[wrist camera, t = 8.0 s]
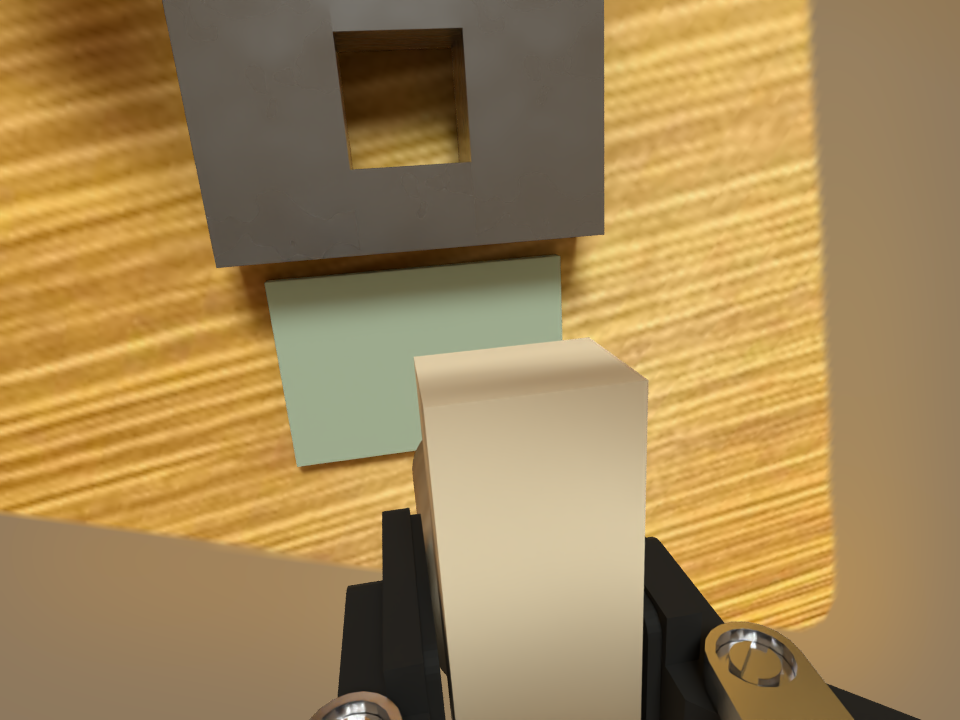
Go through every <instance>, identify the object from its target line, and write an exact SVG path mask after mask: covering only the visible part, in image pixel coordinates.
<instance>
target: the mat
mask: <svg viewBox="0 0 960 720" xmlns="http://www.w3.org/2000/svg"><path fill="white" fill-rule="evenodd" d="M264 284H265V289H266V295H267V300H268V306H269V312H270V317H271V323H272V328H273V334H274V340H275V345H276V351H277V356H278V362H279V368H280V373H281V379H282V384H283V390H284V395H285V401H286V407H287V412H288V418H289V423H290V429H291V435H292V440H293V446H294V451H295V457H296V462H297V467H299V466H306V465H314V464H321V463H328V462H336V461H343V460H350V459H358V458H365V457H372V456H380V455H387V454H394V453H401V452H409V451H416V450H417V448H418V446H419V444H420V442H421V441H422V433H421V423H420V414H419V404H418V395H417V385H416V376H415V366H414V357H416V356H425V355H435V354H444V353H453V352H462V351H471V350H480V349H489V348H498V347H507V346H516V345H525V344H534V343H543V342H552V341H561V340H562V309H561V268H560V256H559V255H545V256H534V257H523V258H512V259H501V260H490V261H479V262H468V263H457V264H445V265H434V266H423V267H412V268H401V269H390V270H379V271H368V272H357V273H346V274H335V275H324V276H313V277H302V278H291V279H279V280H268V281H266V282H265V283H264Z"/></svg>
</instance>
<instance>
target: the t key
mask: <svg viewBox="0 0 960 720" xmlns="http://www.w3.org/2000/svg"><path fill="white" fill-rule="evenodd" d="M414 366H415V376H416V385H417V395H418V404H419V414H420V423H421V433H422V441H421V442H420V444H419V446H418V448H417V450H416V452H415V455H414V459H413V466H412V471H413V482H414V491H415V500H416V509H417V514H421V519H422V527H423V535H424V543H425V551H426V559H427V567H428V576H429V584H430V592H431V600H432V608H433V616H434V624H435V632H436V640H437V648H438V657H439V665H440V668H441V669H442V671H443V672H444V673H445V674H446V675H447V679H448V688H449V698H450V708H451V717H452V720H641V690H642V645H643V599H644V553H645V508H646V462H647V416H648V380H647V379H646V378H644V377H643V376H642V375H640V374H639V373H638V372H636V371H635V370H633V369H632V368H631V367H629V366H628V365H626V364H625V363H624V362H622V361H621V360H620V359H618V358H617V357H615V356H614V355H613V354H611V353H610V352H608V351H607V350H606V349H604V348H603V347H602V346H600V345H599V344H597V343H596V342H595V341H593V340H592V339H590V338H589V337H588V338H579V339H570V340H561V341H552V342H543V343H534V344H525V345H516V346H507V347H498V348H489V349H480V350H471V351H462V352H453V353H444V354H435V355H425V356H416V357H414Z"/></svg>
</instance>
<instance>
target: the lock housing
mask: <svg viewBox="0 0 960 720" xmlns="http://www.w3.org/2000/svg"><path fill="white" fill-rule="evenodd" d="M162 2H163V6H164V11H165V16H166V21H167V26H168V31H169V36H170V41H171V46H172V51H173V56H174V61H175V66H176V71H177V76H178V81H179V86H180V90H181V95H182V100H183V105H184V110H185V115H186V120H187V125H188V130H189V135H190V140H191V145H192V150H193V155H194V160H195V165H196V169H197V174H198V179H199V184H200V189H201V194H202V199H203V204H204V209H205V214H206V219H207V224H208V229H209V234H210V239H211V244H212V248H213V253H214V258H215V263H216V268H221V267H233V266H244V265H256V264H268V263H279V262H291V261H302V260H314V259H326V258H337V257H349V256H360V255H372V254H384V253H395V252H407V251H418V250H430V249H442V248H453V247H465V246H476V245H488V244H500V243H511V242H523V241H534V240H546V239H558V238H569V237H581V236H592V235H604V0H162ZM441 48H451V54H452V67H453V81H454V95H455V109H456V123H457V136H458V150H459V163H448V164H432V165H417V166H401V167H386V168H370V169H355V170H353V167H352V159H351V151H350V143H349V135H348V127H347V119H346V111H345V103H344V95H343V87H342V79H341V71H340V63H339V55H338V52H356V51H385V50H413V49H441Z"/></svg>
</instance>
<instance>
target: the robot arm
mask: <svg viewBox="0 0 960 720" xmlns="http://www.w3.org/2000/svg"><path fill="white" fill-rule="evenodd" d="M382 559H383V580H382V581H377V582H370V583H363V584H357V585H351V586H348V588H347V593H346V604H345V615H344V627H343V639H342V651H341V664H340V675H339V687H338V688H339V689H338V698H336V699H334V700H332V701H330V702H329V703H327V704H326V705H324V706H323V707H321V708H320V709H319V710H318V711H317V712H316V713H315V714H314V715H313V716H312V717H311V719H310V720H445V712H444V702H443V692H442V684H441V675H440V665H439V657H438V648H437V640H436V632H435V624H434V616H433V608H432V600H431V592H430V584H429V576H428V567H427V559H426V551H425V543H424V535H423V527H422V519H421V514H414V515H410V509H409V508H405V509H398V510H391V511H384V512H382ZM641 720H920V719H918V718H915V717H912V716H910V715H907V714H904V713H902V712H899V711H897V710H894V709H892V708H889V707H886V706H884V705H881V704H879V703H876V702H873V701H871V700H868V699H866V698H863V697H860V696H858V695H855V694H852V693H850V692H847V691H845V690H842V689H839V688H837V687H834V686H832V685H829V684H827V683H825V681H824V680H823V679H822V677H821V676H820V675H819V674H818V672H817V671H816V670H815V668H814V667H813V666H812V665H811V663H810V662H809V661H808V659H807V658H806V657H805V655H804V654H803V653H802V652H801V650H800V649H799V648H798V647H796V645H795V644H794V643H792V642H791V640H789V639H788V638H786V637H785V636H783V635H782V634H780V633H779V632H777V631H775V630H772V629H770V628H767V627H765V626H763V625H759V624H754V623H749V622H729V623H724V622H723V621H722V619H721V618H720V617H719V616H718V614H717V613H716V612H715V611H714V609H713V608H712V607H711V606H710V604H709V603H708V602H707V600H706V599H705V598H704V597H703V595H702V594H701V593H700V592H699V590H698V589H697V588H696V586H695V585H694V584H693V583H692V581H691V580H690V579H689V578H688V576H687V575H686V574H685V572H684V571H683V570H682V569H681V567H680V566H679V565H678V564H677V562H676V561H675V560H674V558H673V557H672V556H671V555H670V553H669V552H668V551H667V550H666V548H665V547H664V546H663V544H662V543H661V542H660V541H659V540H658V539H657V538H655V537H648V538H646V537H645V553H644V599H643V645H642V690H641Z"/></svg>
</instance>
